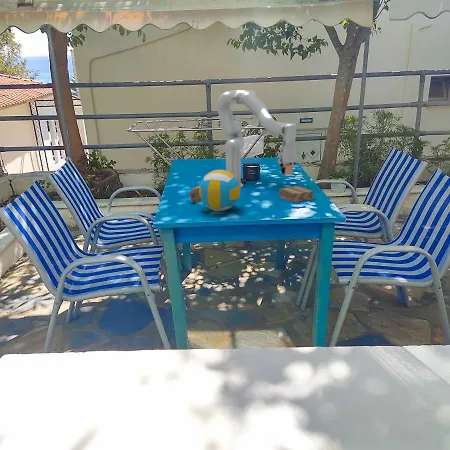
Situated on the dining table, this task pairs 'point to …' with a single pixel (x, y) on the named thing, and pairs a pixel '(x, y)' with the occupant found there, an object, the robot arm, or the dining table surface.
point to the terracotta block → (288, 169)
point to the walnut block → (296, 194)
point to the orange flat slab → (195, 195)
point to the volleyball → (219, 190)
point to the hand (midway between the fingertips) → (286, 172)
